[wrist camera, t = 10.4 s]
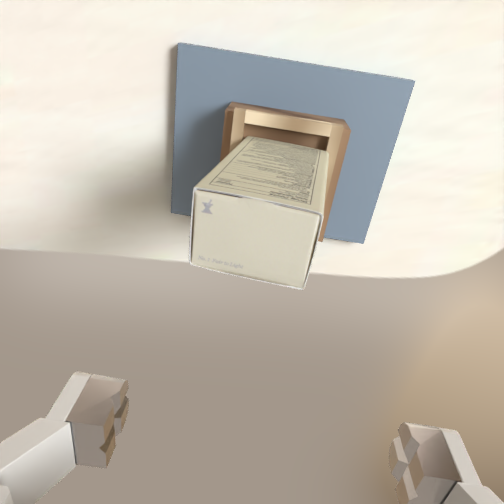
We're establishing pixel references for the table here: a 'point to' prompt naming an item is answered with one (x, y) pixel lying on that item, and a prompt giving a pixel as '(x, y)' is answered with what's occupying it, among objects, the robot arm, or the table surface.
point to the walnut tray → (290, 137)
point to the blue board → (292, 99)
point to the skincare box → (260, 212)
